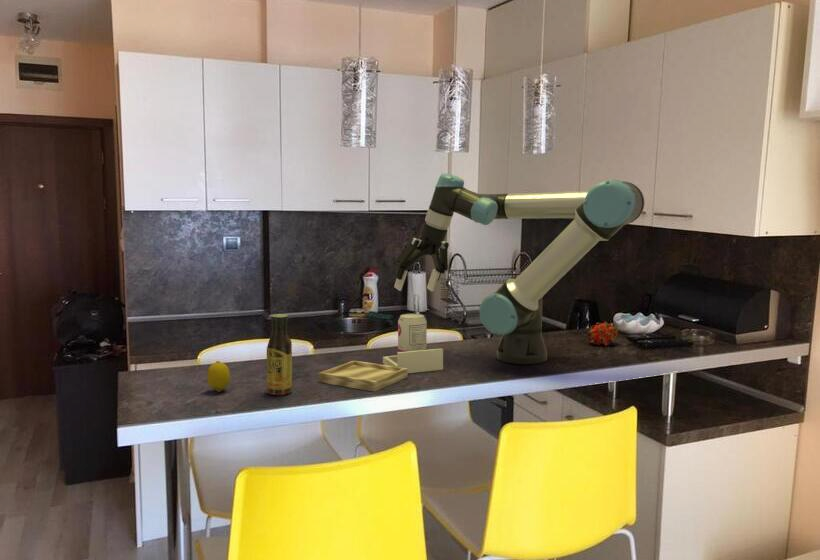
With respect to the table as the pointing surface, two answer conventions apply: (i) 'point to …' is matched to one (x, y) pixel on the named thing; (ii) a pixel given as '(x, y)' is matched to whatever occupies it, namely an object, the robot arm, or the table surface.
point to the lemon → (218, 376)
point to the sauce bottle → (279, 357)
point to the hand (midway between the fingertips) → (414, 289)
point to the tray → (363, 375)
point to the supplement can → (412, 332)
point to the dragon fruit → (603, 333)
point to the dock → (417, 360)
